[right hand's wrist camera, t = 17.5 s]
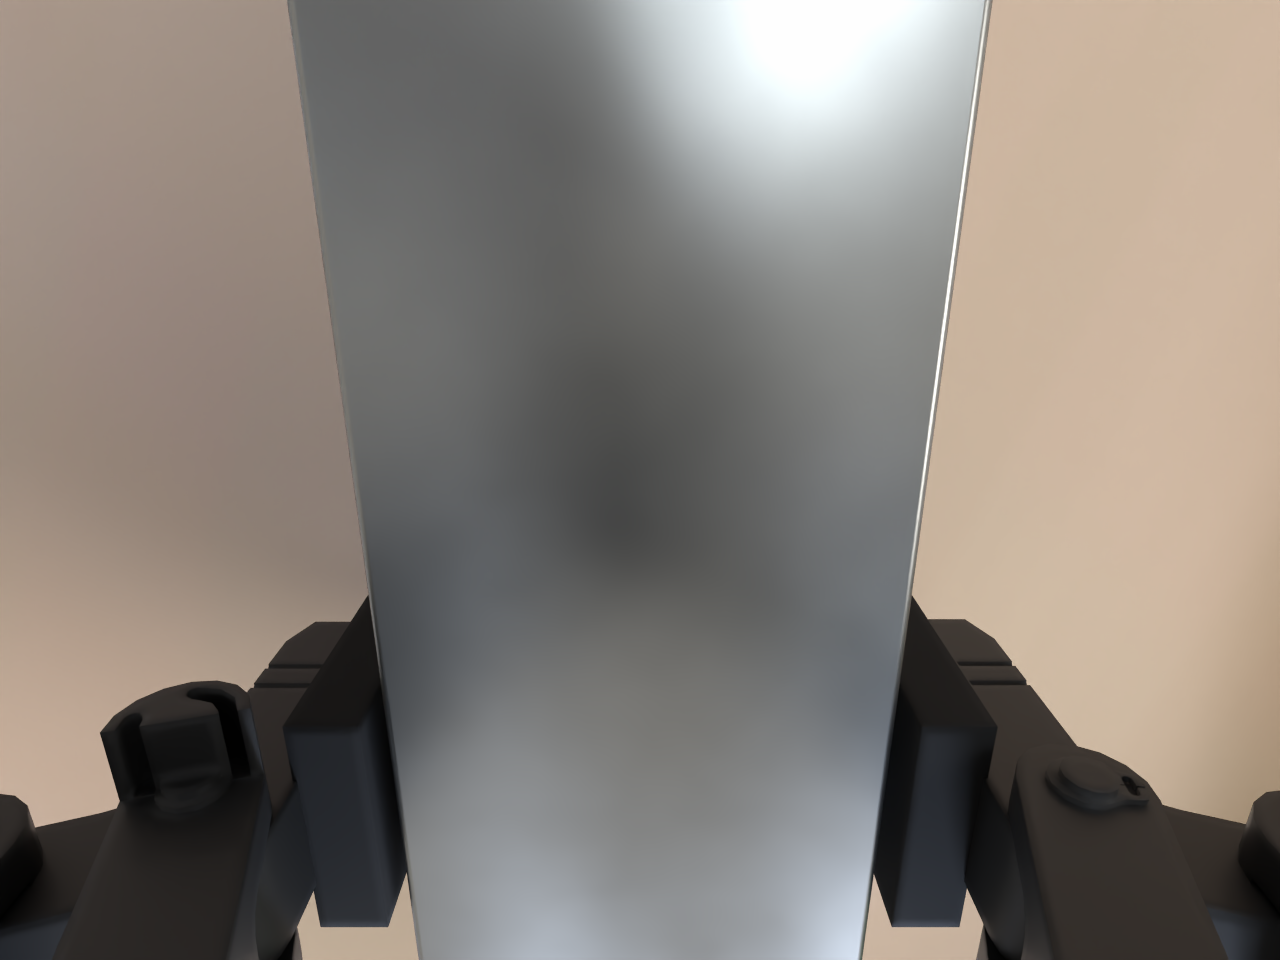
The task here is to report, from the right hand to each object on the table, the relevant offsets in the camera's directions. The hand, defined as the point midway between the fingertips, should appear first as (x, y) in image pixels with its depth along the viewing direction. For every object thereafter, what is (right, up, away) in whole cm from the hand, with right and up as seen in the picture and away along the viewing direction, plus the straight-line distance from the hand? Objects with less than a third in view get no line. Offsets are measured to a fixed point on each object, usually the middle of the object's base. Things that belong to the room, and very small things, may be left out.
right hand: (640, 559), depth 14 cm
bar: (0, +11, -2) cm, 11 cm away
